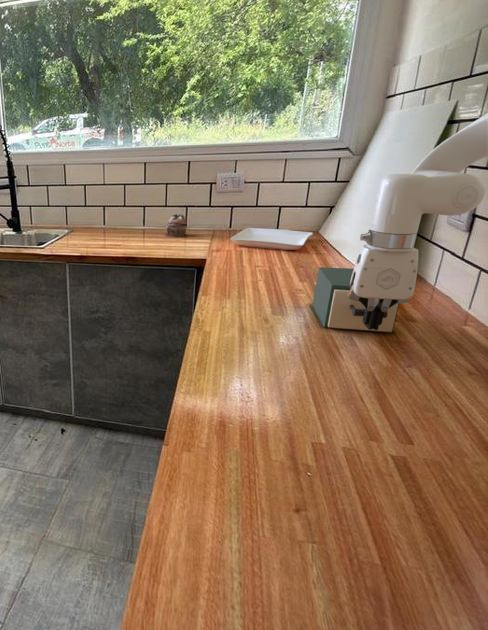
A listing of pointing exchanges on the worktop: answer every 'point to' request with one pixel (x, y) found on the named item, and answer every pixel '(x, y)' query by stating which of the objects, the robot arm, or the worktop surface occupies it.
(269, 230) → the square plate
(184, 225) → the cupcake
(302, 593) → the worktop surface
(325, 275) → the cabinet
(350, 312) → the drawer
